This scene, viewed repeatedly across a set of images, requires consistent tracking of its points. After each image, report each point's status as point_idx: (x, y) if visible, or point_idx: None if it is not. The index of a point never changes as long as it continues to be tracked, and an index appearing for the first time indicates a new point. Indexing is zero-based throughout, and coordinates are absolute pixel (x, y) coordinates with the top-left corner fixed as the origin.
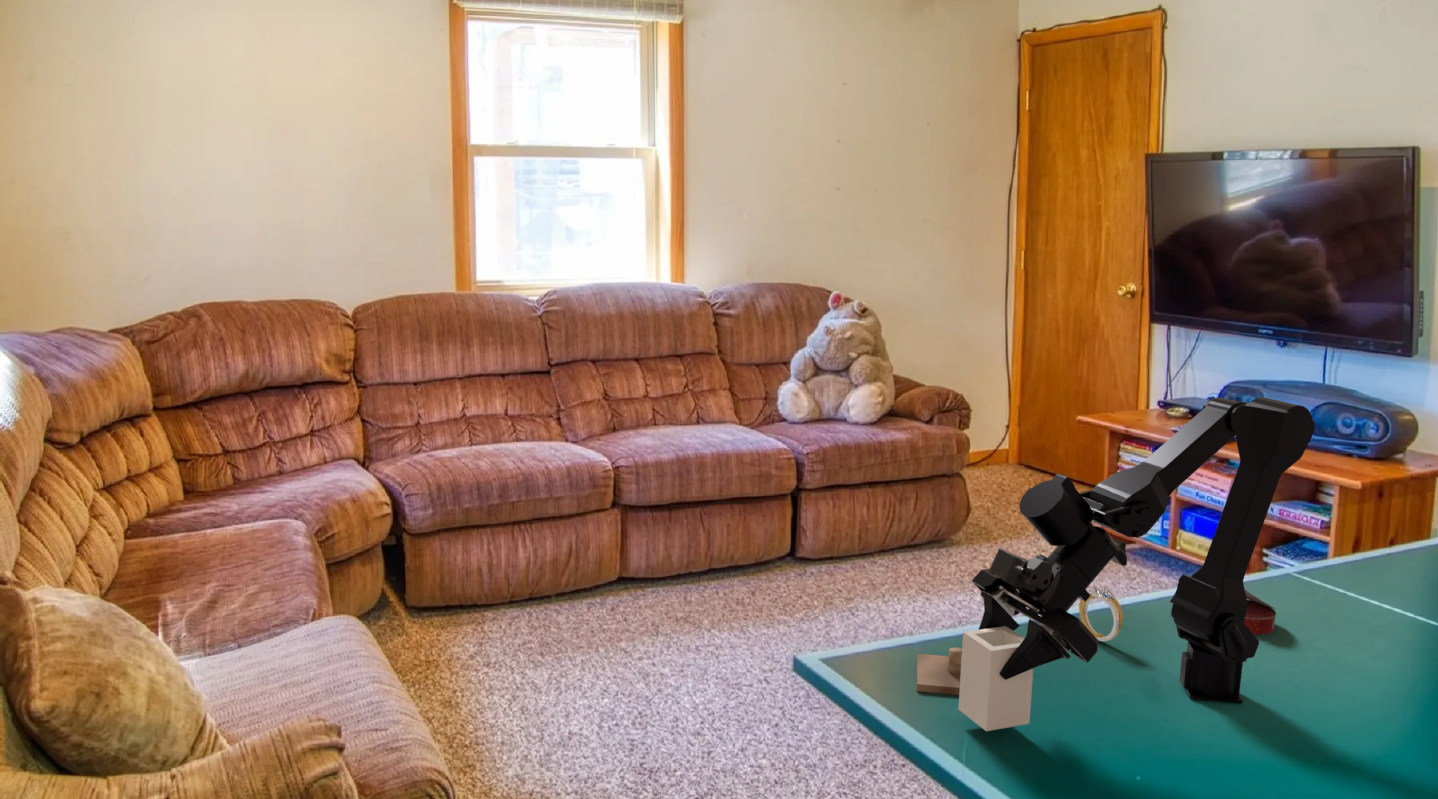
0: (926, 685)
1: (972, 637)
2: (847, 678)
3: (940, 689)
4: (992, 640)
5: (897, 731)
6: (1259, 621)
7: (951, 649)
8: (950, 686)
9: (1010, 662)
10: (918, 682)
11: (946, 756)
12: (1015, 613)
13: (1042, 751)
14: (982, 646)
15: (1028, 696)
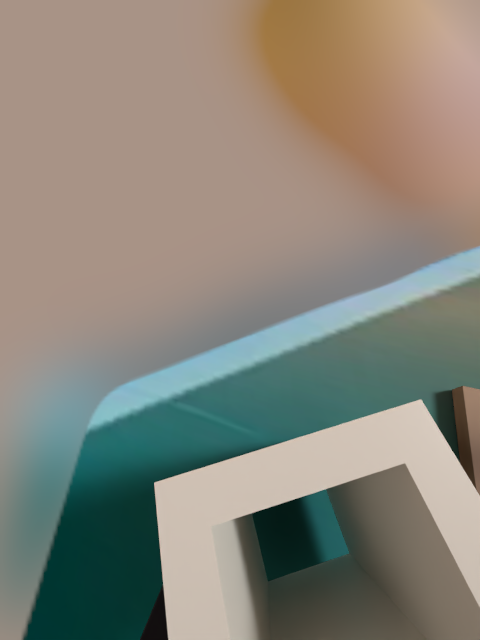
0: (464, 405)
1: (343, 429)
2: (469, 283)
3: (464, 438)
4: (450, 609)
5: (278, 324)
6: None
7: None
8: (475, 462)
9: (163, 608)
10: (472, 390)
11: (193, 379)
12: None
13: None
14: (239, 457)
15: None
